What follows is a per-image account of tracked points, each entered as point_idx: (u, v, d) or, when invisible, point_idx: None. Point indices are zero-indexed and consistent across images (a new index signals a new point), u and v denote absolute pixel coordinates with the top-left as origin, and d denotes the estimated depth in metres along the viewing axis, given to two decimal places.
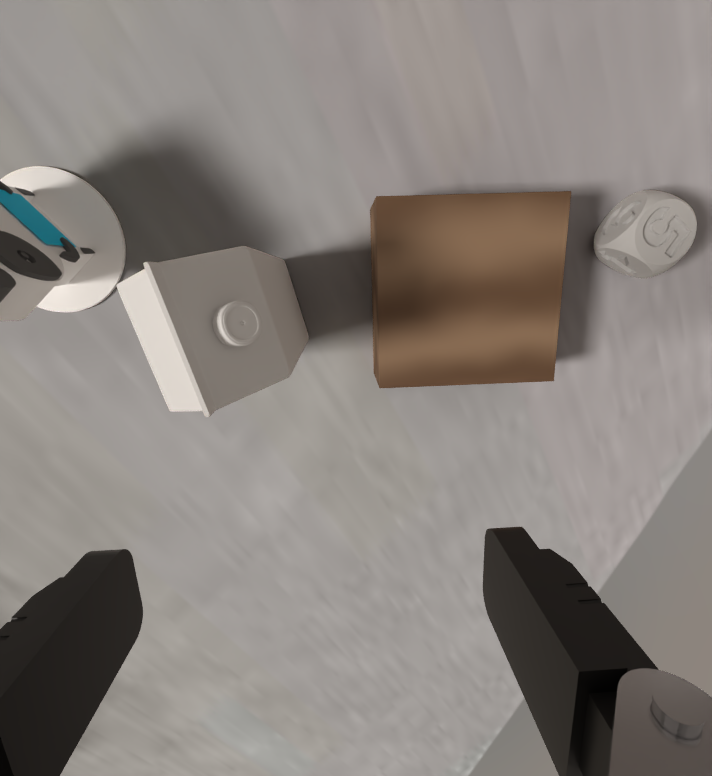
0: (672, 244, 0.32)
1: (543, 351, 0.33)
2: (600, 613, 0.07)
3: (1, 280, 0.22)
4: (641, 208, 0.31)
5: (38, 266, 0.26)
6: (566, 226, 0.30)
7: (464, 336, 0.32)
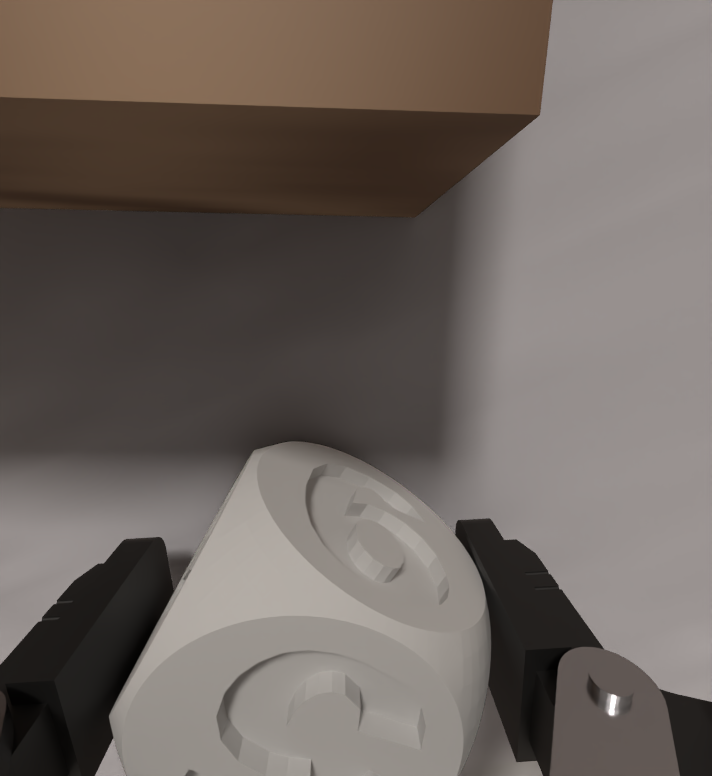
0: None
1: None
2: (556, 599, 0.07)
3: None
4: (418, 615, 0.06)
5: None
6: (247, 112, 0.03)
7: None
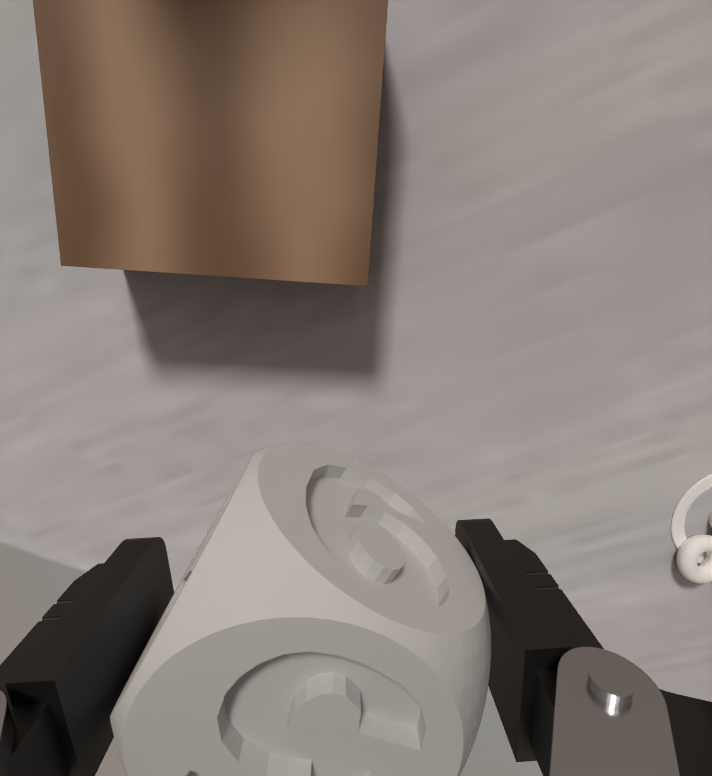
0: None
1: (114, 244, 0.19)
2: (556, 599, 0.07)
3: None
4: (418, 616, 0.06)
5: None
6: (318, 282, 0.20)
7: (137, 88, 0.17)
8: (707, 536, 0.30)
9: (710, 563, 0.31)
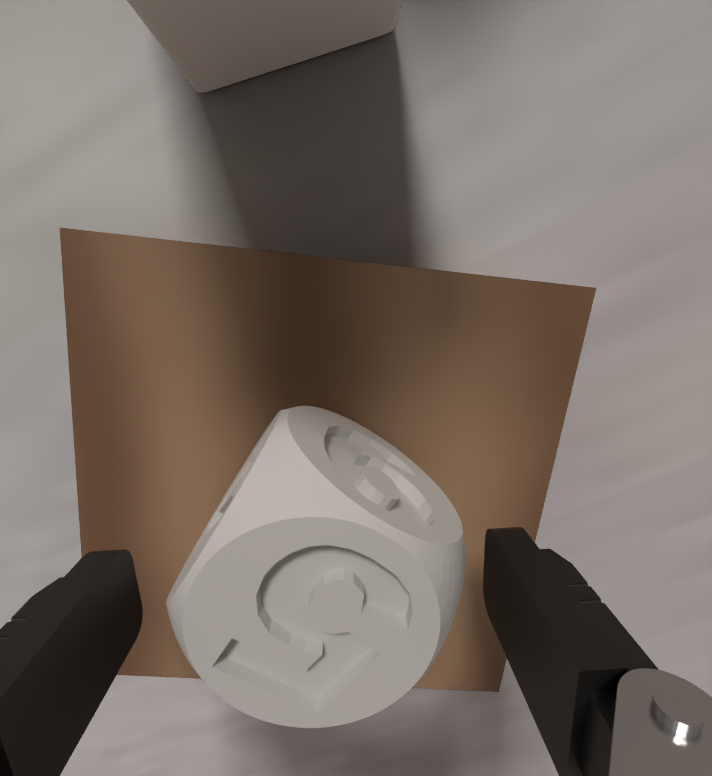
0: (270, 657, 0.08)
1: (163, 651, 0.14)
2: (600, 613, 0.07)
3: None
4: (410, 528, 0.08)
5: None
6: (432, 684, 0.15)
7: (211, 482, 0.12)
8: None
9: None
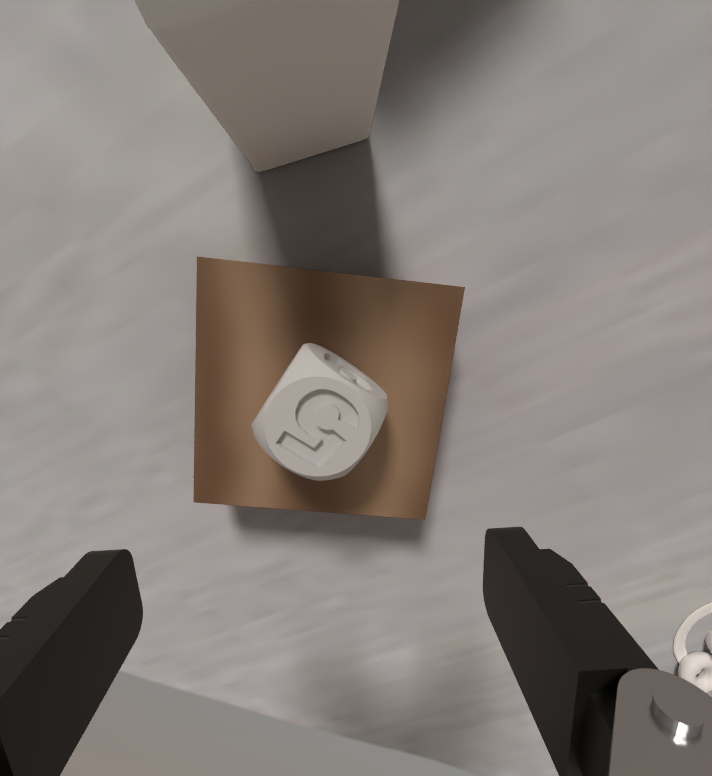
0: (299, 444, 0.19)
1: (235, 489, 0.25)
2: (600, 613, 0.07)
3: None
4: (359, 386, 0.19)
5: None
6: (387, 515, 0.26)
7: (265, 389, 0.23)
8: (704, 655, 0.36)
9: (706, 676, 0.36)
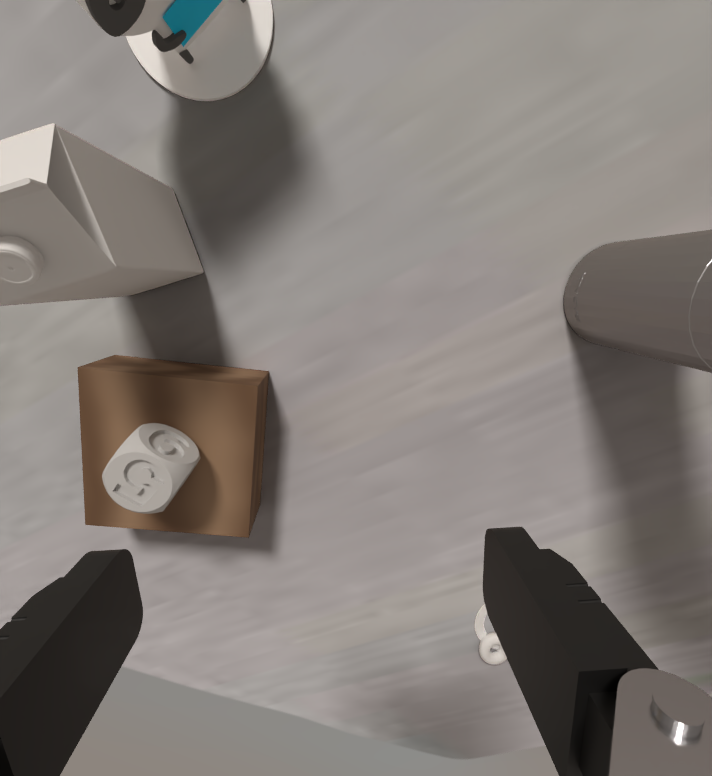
0: (129, 491, 0.30)
1: (113, 516, 0.36)
2: (600, 613, 0.07)
3: None
4: (165, 457, 0.30)
5: (108, 13, 0.23)
6: (222, 534, 0.37)
7: None
8: (496, 634, 0.47)
9: (500, 651, 0.47)
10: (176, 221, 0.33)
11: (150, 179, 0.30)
